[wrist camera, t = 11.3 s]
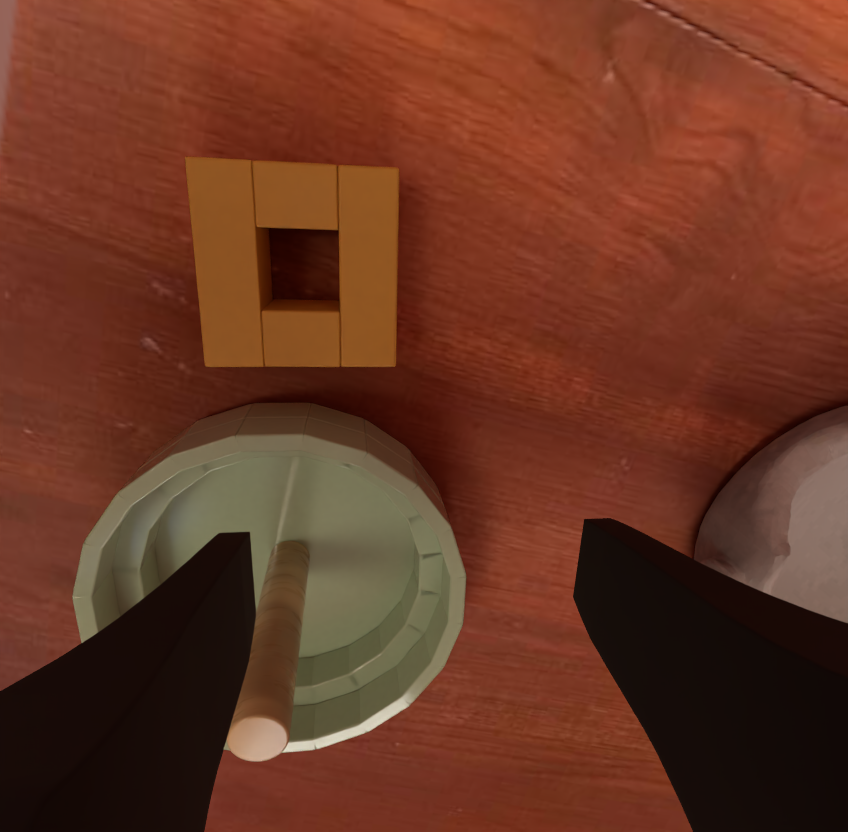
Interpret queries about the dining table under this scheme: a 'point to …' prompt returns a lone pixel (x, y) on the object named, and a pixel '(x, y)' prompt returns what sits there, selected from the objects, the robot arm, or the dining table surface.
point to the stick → (272, 658)
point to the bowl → (314, 528)
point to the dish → (787, 519)
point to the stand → (251, 262)
